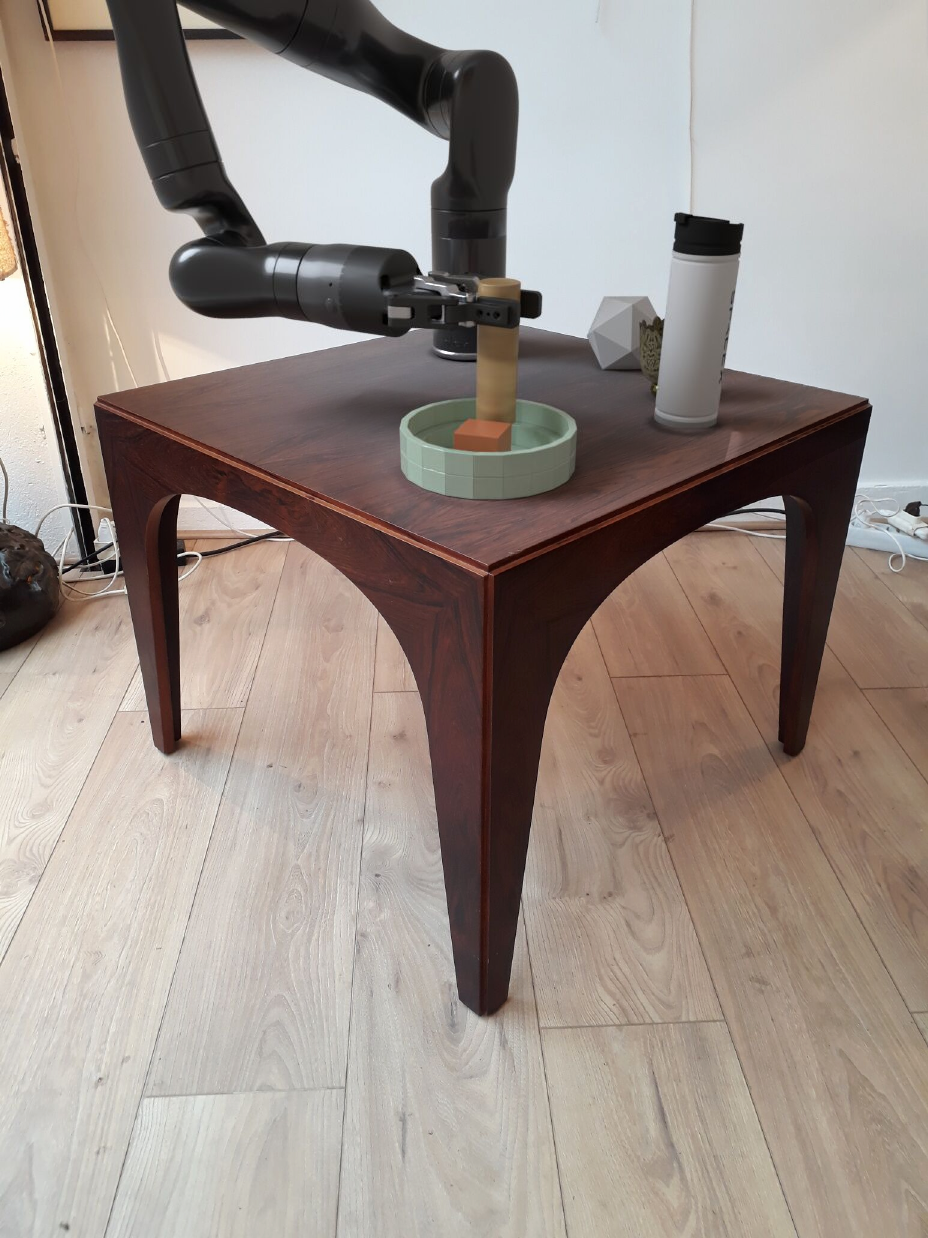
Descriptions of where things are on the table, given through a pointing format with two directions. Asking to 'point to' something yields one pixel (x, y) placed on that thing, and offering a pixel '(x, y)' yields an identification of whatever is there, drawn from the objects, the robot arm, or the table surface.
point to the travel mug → (697, 320)
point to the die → (620, 330)
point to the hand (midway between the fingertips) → (528, 309)
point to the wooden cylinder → (497, 358)
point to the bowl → (524, 471)
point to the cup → (651, 350)
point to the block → (483, 436)
